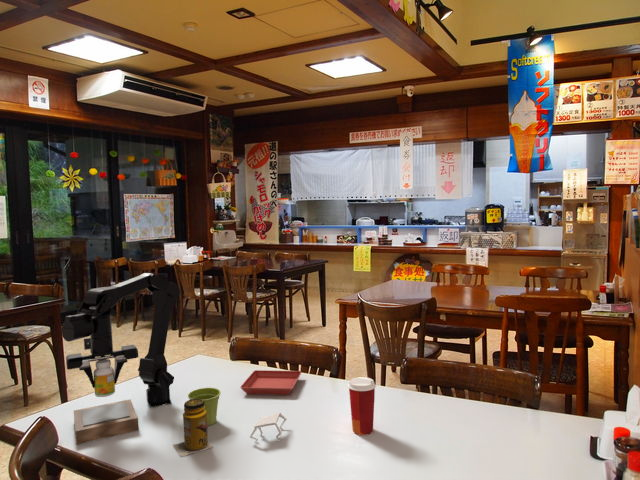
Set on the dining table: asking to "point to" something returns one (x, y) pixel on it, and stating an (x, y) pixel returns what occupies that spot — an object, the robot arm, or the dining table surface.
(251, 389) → the plant saucer
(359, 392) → the paper cup
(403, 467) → the dining table surface
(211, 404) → the plant pot
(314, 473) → the dining table surface
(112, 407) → the framed mirror
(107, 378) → the supplement bottle
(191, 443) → the condiment
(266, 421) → the miniature table
